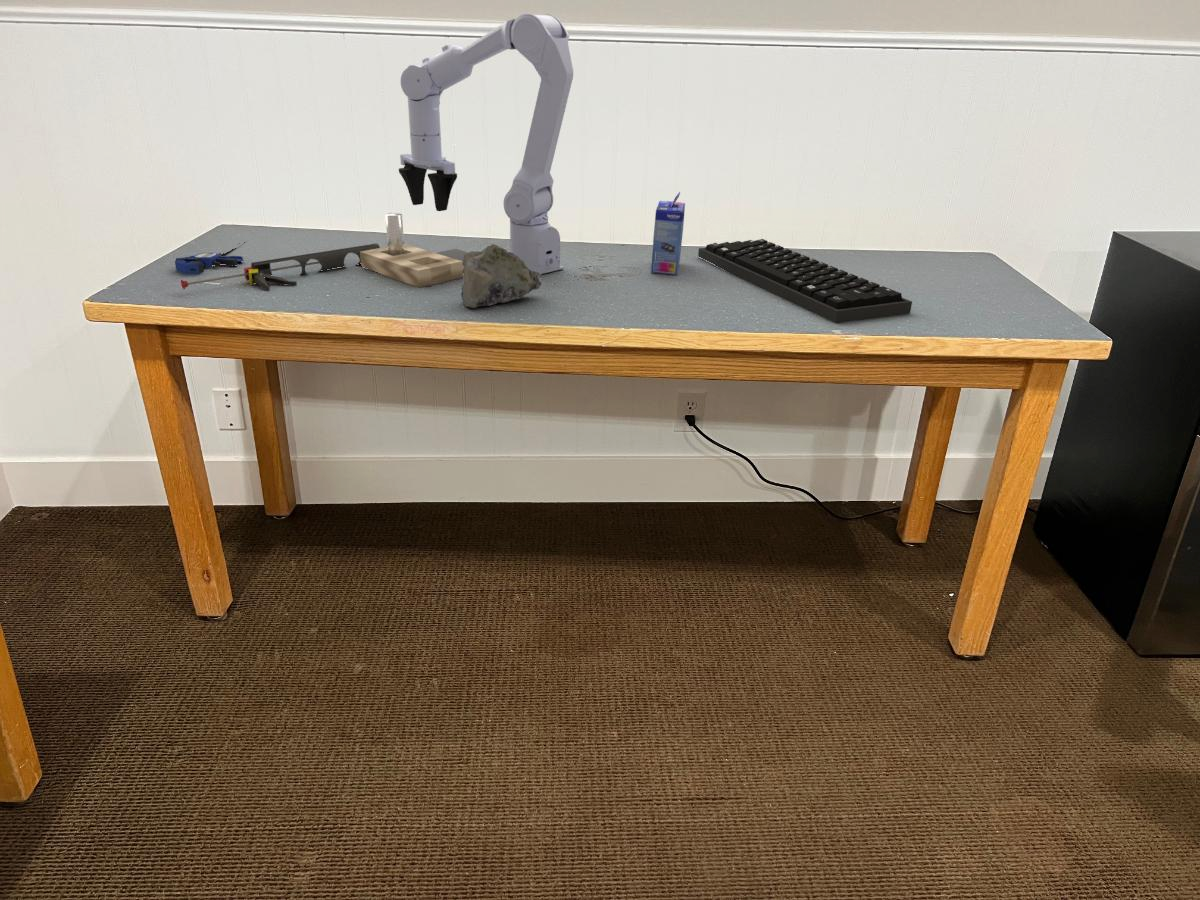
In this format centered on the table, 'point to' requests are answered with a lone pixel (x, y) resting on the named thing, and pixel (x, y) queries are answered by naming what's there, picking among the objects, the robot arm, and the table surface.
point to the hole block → (413, 265)
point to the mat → (453, 254)
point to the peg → (395, 234)
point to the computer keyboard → (806, 281)
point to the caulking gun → (263, 267)
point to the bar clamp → (204, 262)
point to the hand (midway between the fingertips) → (429, 207)
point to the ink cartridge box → (667, 237)
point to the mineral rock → (495, 277)
